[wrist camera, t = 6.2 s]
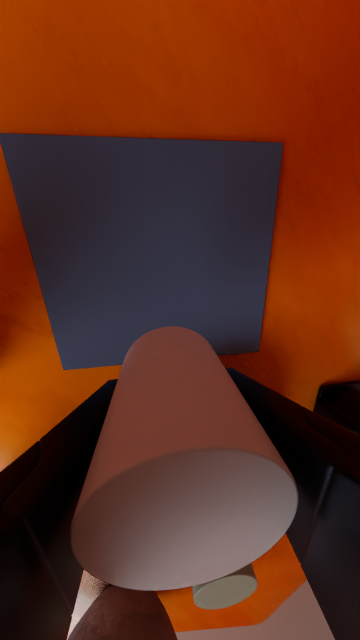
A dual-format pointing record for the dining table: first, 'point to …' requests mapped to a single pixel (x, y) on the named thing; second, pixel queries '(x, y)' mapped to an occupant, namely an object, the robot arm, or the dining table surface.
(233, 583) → the sage candle
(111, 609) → the vase
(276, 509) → the ivory candle
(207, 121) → the dining table surface
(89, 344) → the placemat
